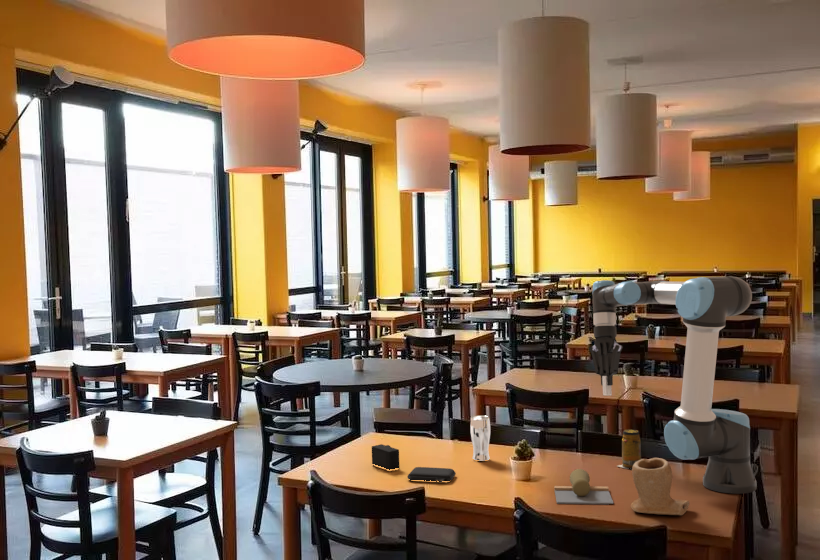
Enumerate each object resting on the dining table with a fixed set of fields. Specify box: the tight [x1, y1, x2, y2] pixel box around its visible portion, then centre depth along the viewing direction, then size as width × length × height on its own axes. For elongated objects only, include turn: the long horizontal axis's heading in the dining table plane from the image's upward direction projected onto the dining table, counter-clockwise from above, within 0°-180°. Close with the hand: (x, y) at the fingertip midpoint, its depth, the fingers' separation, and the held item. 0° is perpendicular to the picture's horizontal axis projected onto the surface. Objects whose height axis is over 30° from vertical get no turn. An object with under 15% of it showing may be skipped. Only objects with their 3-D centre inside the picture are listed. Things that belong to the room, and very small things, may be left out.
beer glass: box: [470, 415, 491, 461], centre depth 278 cm, size 7×7×15 cm
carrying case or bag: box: [407, 466, 457, 482], centre depth 257 cm, size 11×3×15 cm
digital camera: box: [371, 443, 400, 470], centre depth 272 cm, size 10×5×7 cm, turn 38°
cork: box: [569, 468, 591, 497], centre depth 237 cm, size 6×6×11 cm
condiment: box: [617, 429, 642, 470], centre depth 264 cm, size 7×8×12 cm
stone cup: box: [630, 457, 690, 516], centre depth 218 cm, size 15×12×15 cm
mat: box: [553, 485, 614, 505], centre depth 234 cm, size 13×16×1 cm
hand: (607, 395), depth 267 cm, fingers closed
